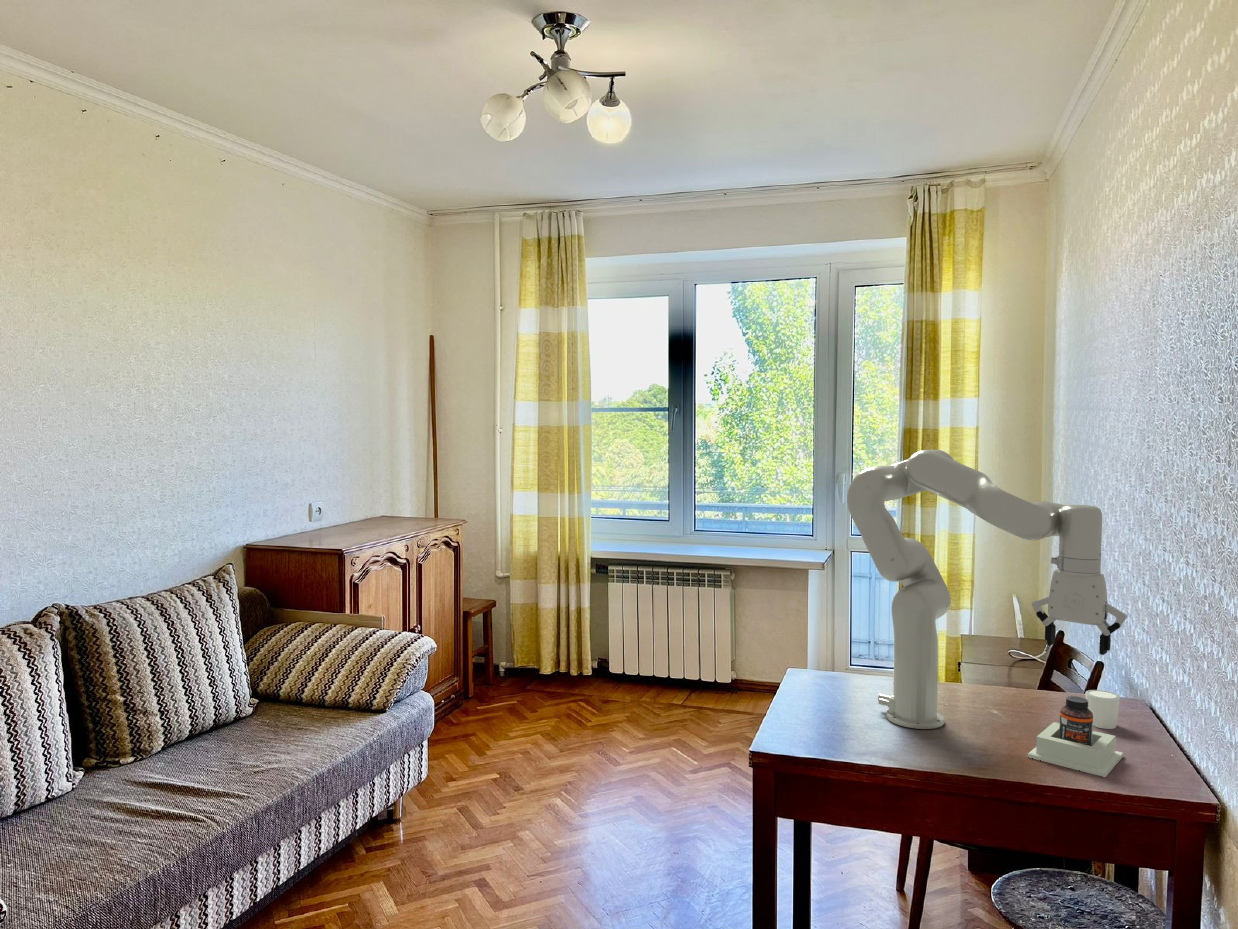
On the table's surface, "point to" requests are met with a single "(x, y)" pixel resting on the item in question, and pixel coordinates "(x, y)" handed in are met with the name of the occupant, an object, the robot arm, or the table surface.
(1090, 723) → the supplement bottle
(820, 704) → the table surface
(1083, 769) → the socket block
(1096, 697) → the white cylinder
